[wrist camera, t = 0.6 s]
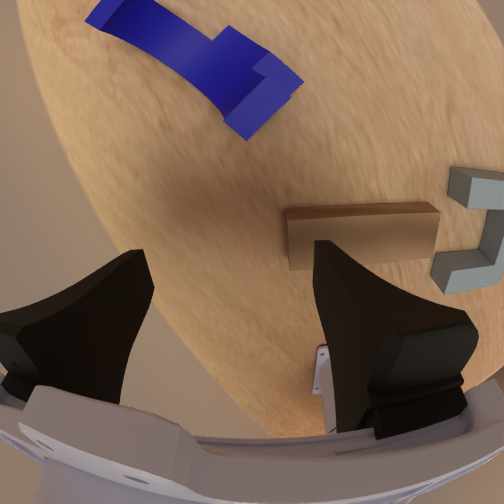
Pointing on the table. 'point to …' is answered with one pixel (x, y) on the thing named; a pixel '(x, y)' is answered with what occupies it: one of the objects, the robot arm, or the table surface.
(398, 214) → the slat
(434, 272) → the end cap
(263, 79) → the cable clip
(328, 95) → the table surface
